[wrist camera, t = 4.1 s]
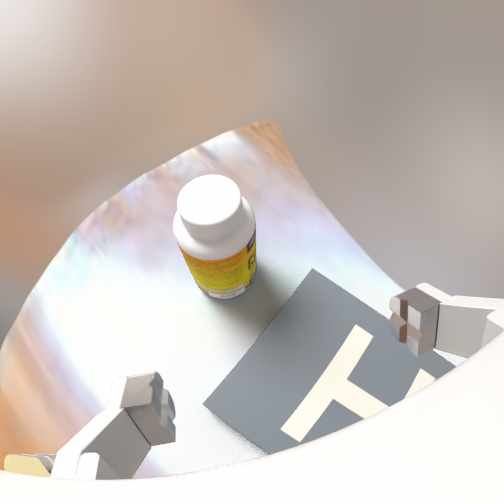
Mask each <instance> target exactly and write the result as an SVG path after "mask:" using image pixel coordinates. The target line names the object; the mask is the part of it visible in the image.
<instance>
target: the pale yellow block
mask: <svg viewBox="0 0 504 504" xmlns="http://www.w3.org/2000/svg"><path fill="white" fill-rule="evenodd" d="M56 456H57V455H54V454H37V453H34V454H31V455H26V454H18V455H12V454H9V455H7V456H6V457H5V460H4V468H5V471H7V472H13V473H19V474H25V475H33V476H41V477H50V475H51V472H52V469H53V465H54V462H55V459H56Z"/></svg>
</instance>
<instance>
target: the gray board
mask: <svg viewBox="0 0 504 504" xmlns="http://www.w3.org/2000/svg"><path fill="white" fill-rule="evenodd" d="M455 367H456V366H455V365H453V364H452V363H450V362H449V361H447V360H446V359H445V358H443V357H442V356H440V355H439V354H438V353H436V352H435V351H433V350H430V351H428V352H427V353H425V354H423V355H421V356H419V357H416V356H415V355H414V354H413V353H411V352H410V351H409V350H408V349H407V348H406V343H401V342H399V341H397V340H396V339H395V337H394V336H393V334H392V332H391V329H390V320H388V319H387V318H386V317H384V316H383V315H381V314H380V313H378V312H377V311H375V310H374V309H372V308H371V307H369V306H368V305H366V304H365V303H363V302H362V301H360V300H359V299H358V298H356V297H355V296H353V295H352V294H350V293H349V292H347V291H346V290H344V289H343V288H341V287H340V286H338V285H337V284H335V283H334V282H332V281H331V280H329V279H328V278H326V277H325V276H323V275H322V274H320V273H319V272H317V271H316V270H314V269H313V268H312V269H311V271H310V272H309V273H308V275H307V276H306V277H305V279H304V280H303V281H302V283H301V284H300V285H299V287H298V288H297V289H296V291H295V292H294V293H293V295H292V296H291V297H290V298H289V300H288V301H287V302H286V304H285V305H284V306H283V308H282V309H281V310H280V311H279V313H278V314H277V315H276V316H275V318H274V319H273V320H272V322H271V323H270V324H269V325H268V327H267V328H266V329H265V330H264V332H263V333H262V334H261V335H260V337H259V338H258V339H257V340H256V341H255V343H254V344H253V345H252V346H251V348H250V349H249V350H248V351H247V353H246V354H245V355H244V356H243V357H242V359H241V360H240V361H239V362H238V363H237V365H236V366H235V367H234V368H233V369H232V371H231V372H230V373H229V374H228V375H227V376H226V378H225V379H224V380H223V381H222V382H221V383H220V385H219V386H218V387H217V388H216V389H215V390H214V392H213V393H212V394H211V395H210V396H209V397H208V398H207V400H206V401H205V402H204V403H203V405H204V406H206V407H207V408H208V409H209V410H210V411H212V412H213V413H214V414H216V415H217V416H218V417H219V418H221V419H222V420H223V421H224V422H226V423H227V424H228V425H230V426H231V427H232V428H234V429H235V430H236V431H238V432H239V433H240V434H242V435H243V436H245V437H246V438H247V439H249V440H250V441H252V442H253V443H254V444H256V445H257V446H259V447H260V448H262V449H263V450H265V451H266V452H268V453H269V454H274V453H277V452H280V451H283V450H287V449H290V448H293V447H296V446H299V445H302V444H304V443H307V442H310V441H313V440H315V439H318V438H321V437H323V436H326V435H328V434H331V433H333V432H336V431H338V430H341V429H343V428H345V427H348V426H350V425H352V424H355V423H357V422H359V421H361V420H363V419H366V418H368V417H370V416H372V415H374V414H376V413H378V412H380V411H382V410H384V409H386V408H388V407H390V406H392V405H394V404H396V403H397V402H399V401H401V400H403V399H405V398H407V397H408V396H410V395H412V394H414V393H415V392H417V391H419V390H421V389H422V388H424V387H426V386H427V385H429V384H431V383H432V382H434V381H435V380H437V379H439V378H440V377H442V376H443V375H445V374H446V373H448V372H449V371H451V370H452V369H454V368H455Z"/></svg>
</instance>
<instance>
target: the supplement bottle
mask: <svg viewBox="0 0 504 504" xmlns="http://www.w3.org/2000/svg"><path fill="white" fill-rule="evenodd" d="M177 208H178V210H177V212H176V215H175V218H174V222H173V231H174V235H175V238H176V241H177V243H178V245H179V248H180V250H181V252H182V254H183V256H184V258H185V261H186V263H187V265H188V267H189V269H190V271H191V274H192V276H193V278H194V280H195V282H196V284H197V285H198V287H199V288H200V289H201V290H202V291H203V292H204V293H206V294H207V295H209V296H212V297H215V298H220V299H227V298H232V297H235V296H238V295H240V294H241V293H243V292H244V291H246V290H247V289H248V288H249V287H250V285H251V284H252V282H253V280H254V278H255V274H256V221H255V215H254V211H253V209H252V207H251V205H250V204H249V202H248V201H247V200H246V199H245V198H244V197H243V196H241V192H240V189H239V187H238V186H237V185H236V183H235V182H233V181H232V180H231V179H229V178H227V177H224V176H220V175H206V176H202V177H199V178H196V179H194V180H192V181H191V182H189V183H188V184H187V185H186V186H185V187H184V188H183V189H182V190H181V192H180V194H179V196H178V200H177Z"/></svg>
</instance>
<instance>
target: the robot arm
mask: <svg viewBox="0 0 504 504" xmlns="http://www.w3.org/2000/svg"><path fill="white" fill-rule="evenodd" d="M390 310H391V311H392V312H393V314H392V316H391V318H390V329H391V332H392V334H393V336H394V337H395V339H396V340H397V341H399V342H401V343H406V348H407V349H408V350H409V351H410V352H411V353H413V354H414V355H415V356H416V357H419V356H421V355H423V354H425V353H427V352H428V351H430V350H432V349H434V348H435V349H437V350H441V351H444V352H448V353H451V354H454V355H458V356H461V357H465V358H468V359H467V360H465V361H464V362H463V363H461V364H460V365H458V366H457V367H455V368H454V369H452V370H451V371H449V372H448V373H446V374H445V375H443V376H442V377H440V378H439V379H437V380H435V381H434V382H432V383H431V384H429V385H427V386H426V387H424V388H422V389H421V390H419V391H417V392H415V393H414V394H412V395H410V396H408V397H407V398H405V399H403V400H401V401H399V402H397V403H396V404H394V405H392V406H390V407H388V408H386V409H384V410H382V411H380V412H378V413H376V414H374V415H372V416H370V417H368V418H366V419H363V420H361V421H359V422H357V423H355V424H352V425H350V426H348V427H345V428H343V429H341V430H338V431H336V432H333V433H331V434H328V435H326V436H323V437H321V438H318V439H315V440H313V441H310V442H307V443H304V444H302V445H299V446H296V447H293V448H290V449H287V450H283V451H280V452H277V453H274V454H270V455H267V456H263V457H260V458H256V459H252V460H248V461H244V462H240V463H236V464H232V465H227V466H223V467H218V468H213V469H208V470H202V471H196V472H190V473H184V474H176V475H169V476H160V477H150V478H137V479H132V477H133V476H134V474H135V472H136V471H137V469H138V468H139V466H140V465H141V463H142V461H143V460H144V458H145V457H146V455H147V454H148V452H149V450H150V449H151V446H154V445H160V444H166V443H171V442H175V425H174V424H173V422H172V421H173V420H174V418H175V407H174V403H173V400H172V397H171V395H170V393H169V391H167V390H166V389H164V388H163V380H162V378H161V376H160V374H159V373H158V372H152V373H146V374H141V375H135V376H129V377H124V378H119V379H116V380H114V381H113V385H112V388H111V392H110V395H109V399H108V402H107V406H106V409H105V411H101V412H100V413H99V414H98V415H97V416H96V417H95V418H94V419H92V420H91V421H90V422H89V423H88V424H87V425H86V426H85V427H84V428H83V429H82V430H81V431H80V432H79V433H78V434H76V435H75V436H74V437H73V438H72V439H71V440H70V441H69V442H68V443H67V444H66V445H65V446H64V447H63V448H61V449H60V450H59V451H58V453H57V456H56V459H55V462H54V465H53V469H52V472H51V475H50V477H41V476H33V475H25V474H19V473H13V472H7V471H2V470H0V504H504V299H495V298H481V297H467V296H453V297H451V296H449V295H448V294H446V293H444V292H442V291H440V290H438V289H436V288H435V287H433V286H431V285H429V284H427V283H421V284H419V285H417V286H415V287H413V288H412V289H409V290H407V291H405V292H403V293H401V294H398V295H396V296H394V297H392V298H391V299H390Z"/></svg>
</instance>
